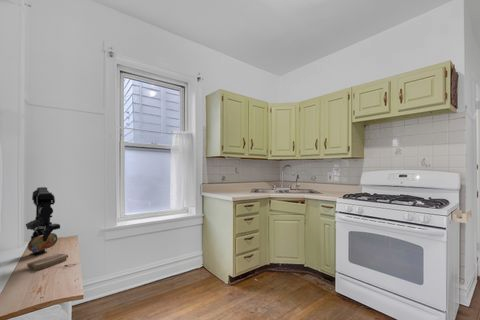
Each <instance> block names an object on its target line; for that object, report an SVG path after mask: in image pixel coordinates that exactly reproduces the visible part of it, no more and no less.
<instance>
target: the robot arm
mask: <svg viewBox="0 0 480 320" xmlns="http://www.w3.org/2000/svg"><path fill="white" fill-rule="evenodd" d="M31 197H32V198H31V200H32V201H33V202H32V204H34V205H35V208H36V210H35V219H33V220H30V221H29V222H28V223H26V224H25V227H26V229H27V230H31V231H33V232H32V235H31V236H30V240H31V239H33V238H35V237H38V236H41V235H43V240H44V241H46V240H47V239H48V237H49V235H50V234H51V233H53V231H54V230H60V229H61V224H59V223H53V222H52V221H51V218H53V215H52V214H53V213H54V209H53V207H52V206H53V205H55V203H56V199H55V195H54V194H53V193H52V192H50V191H49V190H48V187H45V186H42V187H40V186H39V187H37V188H36V189H35V190H33V191H32V196H31ZM51 205H52V206H51ZM45 253H48V251H46V249H44V250H42V251H39V252H31V253H29V255H32V256H39V255H43V254H45Z"/></svg>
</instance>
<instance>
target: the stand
mask: <svg viewBox="0 0 480 320" xmlns="http://www.w3.org/2000/svg"><path fill="white" fill-rule="evenodd" d="M67 258H69V255H68V254H65V253H54V254H52V255H49V256H45V257H44V258H43V257H42V258H40V259H37V260H34V261H30V262H28V263H27V264H26V267H28V270H33V271H41V270H43V269H46V268H49V267H51V266H54V265H56V264H59V263H62V262H64V261H67Z"/></svg>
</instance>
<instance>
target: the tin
mask: <svg viewBox="0 0 480 320" xmlns="http://www.w3.org/2000/svg"><path fill="white" fill-rule="evenodd" d="M57 242H58V235H57V234H56V233H54V232H51V234H50V235H49V237H48V239H47V240H46V241H44V240H43V235H41V236H38V237H35V238H33V239H31V238H30V240H29V242H28V244H27V249H28V251H29V252H31V253H32V252H39V251H42V250H44V249H45V250H47V249H49V248H53V247H54V246H55V245H56V243H57Z"/></svg>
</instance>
